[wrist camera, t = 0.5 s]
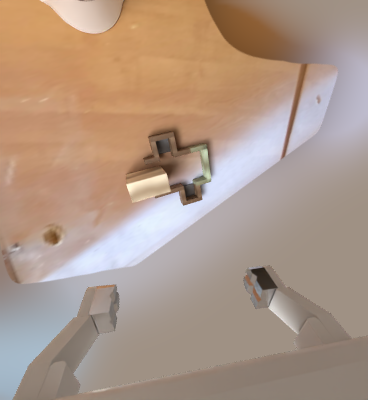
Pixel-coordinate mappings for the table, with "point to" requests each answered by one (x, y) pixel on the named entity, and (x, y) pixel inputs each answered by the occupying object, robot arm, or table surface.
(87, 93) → the table surface
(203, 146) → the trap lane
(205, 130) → the table surface
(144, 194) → the beech block
